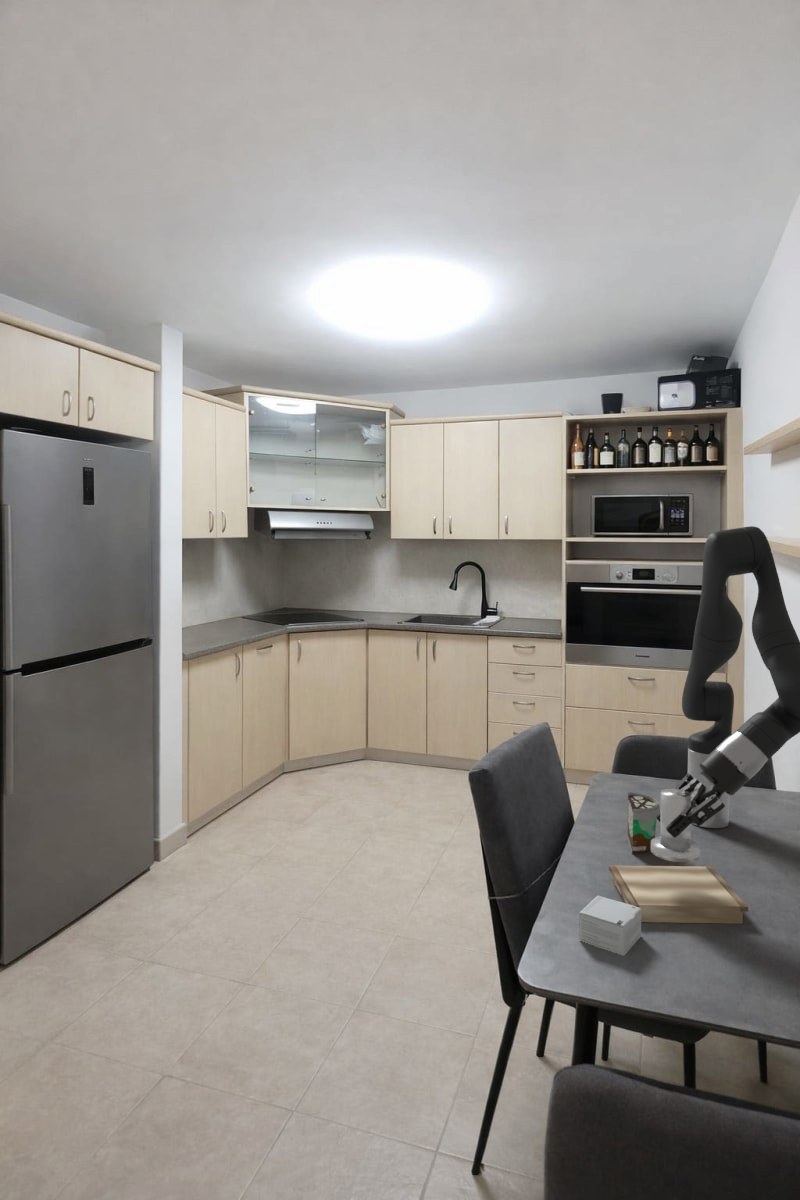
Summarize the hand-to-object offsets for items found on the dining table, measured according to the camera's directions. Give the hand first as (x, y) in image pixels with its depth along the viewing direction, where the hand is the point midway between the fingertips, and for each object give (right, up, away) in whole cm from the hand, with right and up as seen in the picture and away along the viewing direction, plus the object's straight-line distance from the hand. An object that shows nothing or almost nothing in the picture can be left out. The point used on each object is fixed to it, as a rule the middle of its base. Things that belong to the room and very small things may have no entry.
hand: (665, 827), depth 134 cm
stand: (+2, -14, +1) cm, 14 cm away
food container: (+5, -12, +26) cm, 29 cm away
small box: (-13, -15, -12) cm, 24 cm away
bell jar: (+2, -5, 0) cm, 5 cm away
